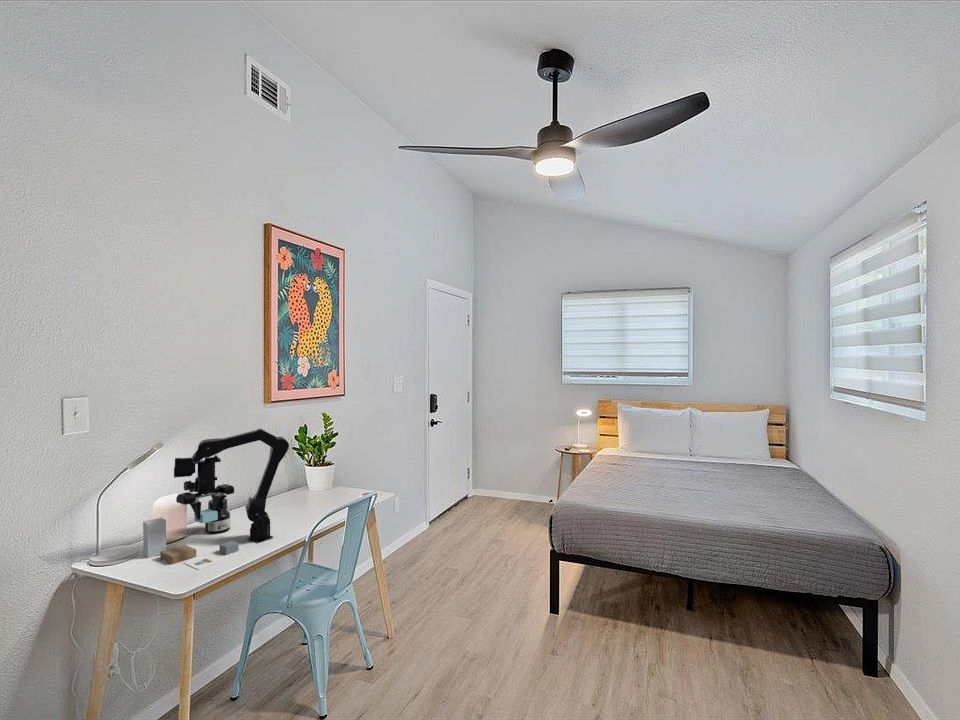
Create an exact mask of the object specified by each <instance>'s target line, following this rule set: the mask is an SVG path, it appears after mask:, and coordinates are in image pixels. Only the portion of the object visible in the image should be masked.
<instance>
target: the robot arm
mask: <svg viewBox="0 0 960 720" xmlns="http://www.w3.org/2000/svg"><path fill="white" fill-rule="evenodd" d="M258 441H260V442H262V443H263V444H265V445H267V446H269V447H270V449H269V457H268V461H267V463H266V467H265V469H264V472H263V474H262V476H261V479H260V481H259V484H258V487H257V490H256V492H255V494H254V496H253V497H251V496H249V497H248V501H247V504H246V505H245V507H244V508H245V511H246V516H247V518H248V520H249V521H250V522H252V523H250V528H249V537H248V540H249V541H253V542H255V543H261V542H265V541H267V540H270V539H273V538H274V536H273V535H271V519H270V516H269V514H268V512H267V511H266V504H267V496H268V494H269V492H270V489H271V487H272V483H273V482H274V477H275V475H276V474H277V473H276V472H277V470H278V468H279V465H280V463H281V461H282V460H283V458H284V457H285V456H286V454H287V452H288V450H289V449H290V444H289V442H288V440H287V439H286V438H285V437H283V436H275V435H274V434H272V433H269V432H268V431H266V430H265V429H263V428H257V429H255V430H252V431H247V432H243V433H239V434H235V435H232V436H228V437H223V438H209V439H207V438H206V439H203V440H201V441H200V442H199V443H198V445H197V449H196V451H195V452H194V453H193V455H191V457H176V458H175V459H174V467H173V478H174V479H175V478H185V477H192V476H193V475H194V474H196V464H197V476H196V477H195V480H194V481H193V482H192V481H191V480H187V481H184V482H183V489H184V490H183V491H187V492H182V493H178V494H177V496H176V499H175V501H176V503H178V504H181V505H183V506H185V505H190V507H191V509H192V510H193V513H194V517H195V516H196V518H197V519H198V520H199V519H200V513H201V511H202V509H201V508H202V501H200V500H199V499H203V498H205V497H209V496H210V497H211V500H213V506H212V510H215V511H218V509H219V506H220V505H221V503H222V501H223V500H224V498H225V499H226V498H227V497H228V495H232V494H235V487H234V486H233V485H231V484H226V483H225V484H219V485H217V486H216V481H218V477H217V476H216V463H220V462H222V460H221V458H220V457H219V456H218V455H217V454H219V453H221V452H223V451H225V450H228V449H232V448H234V447H238V446H242V445H246V444H250V443H254V442H258Z"/></svg>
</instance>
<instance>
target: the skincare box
mask: <svg viewBox="0 0 960 720" xmlns="http://www.w3.org/2000/svg"><path fill="white" fill-rule="evenodd" d="M166 520H167V519H165V518H163V517H157V518H153V519H149V520H144V521H142V534H143V537H142V538H143V541H142V542H143V547H142V548H143V556H144V557H145V558H147V559H150V558H153V557H156V556H160V552H161V551H164V550H167V521H166Z"/></svg>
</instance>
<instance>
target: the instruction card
mask: <svg viewBox="0 0 960 720" xmlns="http://www.w3.org/2000/svg"><path fill="white" fill-rule="evenodd" d="M183 564H185V565H186V566H188V567H192V568H193V569H196V570H198V571H199V570H203V569H206V568H208V567H211V566H214V565H217V564H220V562H219V561H218V560H215V559H212V558H210V557H207V556H202V557H199V558H195V559H192V560H190V561H187V562H186V561H185V562H184V563H183Z"/></svg>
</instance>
